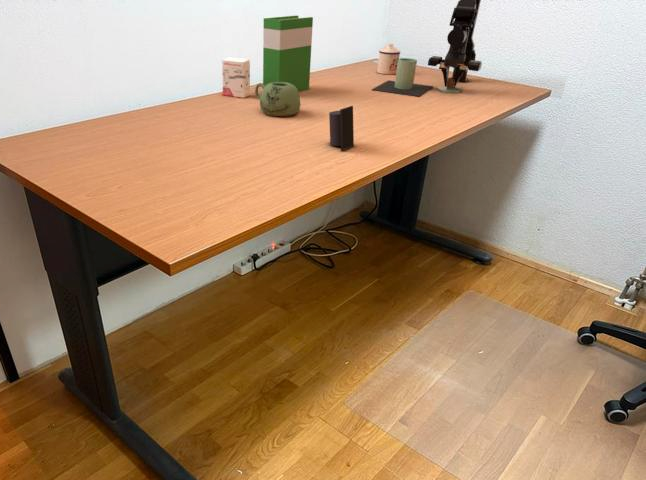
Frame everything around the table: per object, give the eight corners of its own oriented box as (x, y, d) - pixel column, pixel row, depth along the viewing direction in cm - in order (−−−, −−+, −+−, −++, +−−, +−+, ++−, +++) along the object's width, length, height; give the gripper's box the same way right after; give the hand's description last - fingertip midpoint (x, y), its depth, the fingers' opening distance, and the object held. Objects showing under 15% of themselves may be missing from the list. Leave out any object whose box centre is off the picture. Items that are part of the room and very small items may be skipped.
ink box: (221, 95, 175) (220, 59, 169) (228, 92, 179) (227, 56, 173) (244, 98, 172) (243, 61, 166) (250, 95, 176) (250, 59, 170)
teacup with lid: (392, 75, 214) (396, 46, 207) (372, 72, 218) (376, 43, 212) (403, 71, 222) (407, 43, 216) (384, 69, 226) (388, 41, 220)
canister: (408, 85, 197) (413, 58, 191) (415, 89, 191) (419, 61, 186) (391, 85, 196) (395, 58, 190) (397, 89, 190) (402, 61, 185)
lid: (440, 86, 198) (442, 75, 196) (462, 89, 195) (465, 77, 192) (435, 90, 191) (437, 78, 189) (458, 94, 188) (460, 81, 186)
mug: (307, 111, 160) (309, 83, 155) (285, 120, 151) (286, 90, 146) (266, 103, 167) (267, 76, 162) (243, 111, 158) (243, 82, 153)
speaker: (360, 147, 130) (360, 106, 125) (342, 151, 128) (341, 109, 123) (342, 141, 136) (342, 102, 131) (325, 145, 134) (324, 105, 129)
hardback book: (293, 85, 192) (296, 15, 179) (309, 88, 188) (312, 17, 175) (263, 92, 180) (263, 18, 167) (278, 96, 176) (280, 20, 164)
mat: (388, 81, 204) (388, 80, 204) (432, 87, 197) (432, 86, 197) (371, 90, 189) (372, 89, 189) (418, 96, 182) (419, 96, 182)
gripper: (427, 43, 182) (420, 87, 190) (481, 48, 174) (470, 94, 183) (435, 39, 190) (427, 82, 198) (486, 44, 183) (476, 89, 191)
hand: (449, 87), depth 192 cm, fingers open, 3 cm apart
